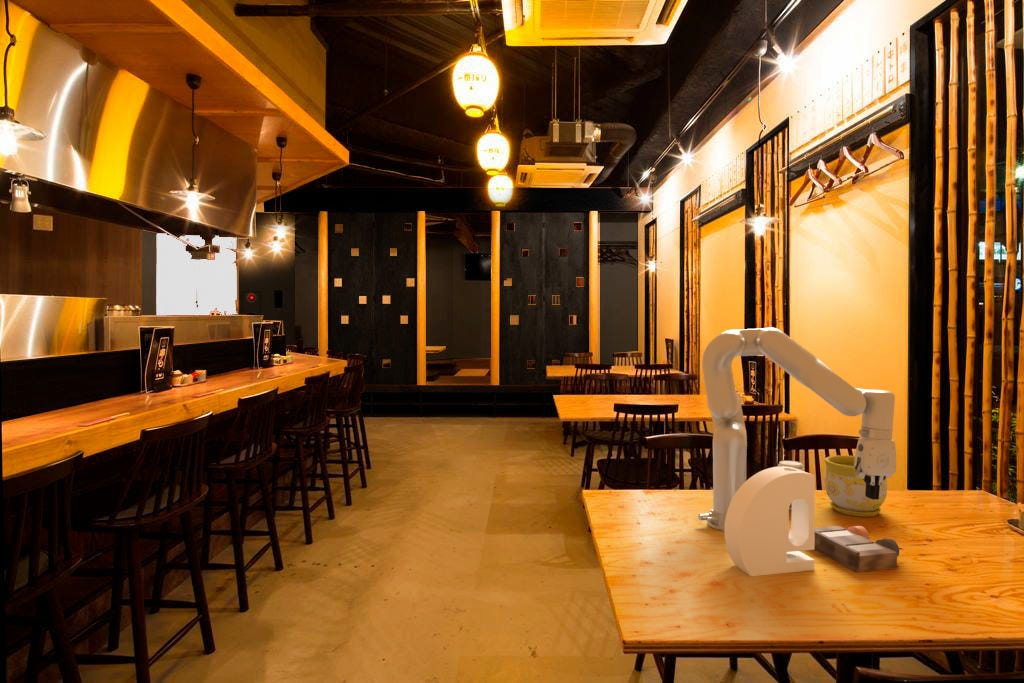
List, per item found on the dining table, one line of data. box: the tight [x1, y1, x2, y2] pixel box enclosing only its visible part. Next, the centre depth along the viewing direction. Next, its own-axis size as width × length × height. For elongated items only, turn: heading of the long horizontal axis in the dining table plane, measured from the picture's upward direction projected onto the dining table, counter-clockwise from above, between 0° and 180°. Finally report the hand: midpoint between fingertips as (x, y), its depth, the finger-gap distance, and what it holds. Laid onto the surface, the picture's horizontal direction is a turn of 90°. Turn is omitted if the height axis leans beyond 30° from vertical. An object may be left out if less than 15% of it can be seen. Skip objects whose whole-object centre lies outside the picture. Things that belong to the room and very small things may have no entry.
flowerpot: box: [824, 455, 888, 518], centre depth 193 cm, size 18×18×16 cm
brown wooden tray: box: [814, 525, 898, 573], centre depth 157 cm, size 12×20×5 cm, turn 11°
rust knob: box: [822, 525, 870, 540], centre depth 163 cm, size 13×5×5 cm, turn 101°
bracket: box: [723, 466, 816, 577], centre depth 149 cm, size 7×21×25 cm, turn 101°
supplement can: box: [776, 460, 805, 511], centre depth 198 cm, size 8×8×15 cm
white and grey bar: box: [848, 538, 900, 558], centre depth 153 cm, size 13×5×5 cm, turn 101°
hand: (871, 497), depth 166 cm, fingers closed
